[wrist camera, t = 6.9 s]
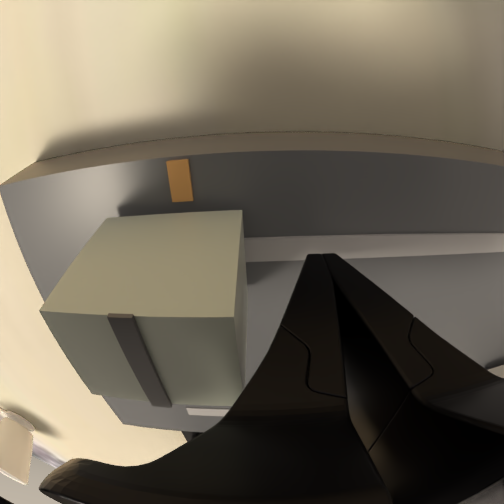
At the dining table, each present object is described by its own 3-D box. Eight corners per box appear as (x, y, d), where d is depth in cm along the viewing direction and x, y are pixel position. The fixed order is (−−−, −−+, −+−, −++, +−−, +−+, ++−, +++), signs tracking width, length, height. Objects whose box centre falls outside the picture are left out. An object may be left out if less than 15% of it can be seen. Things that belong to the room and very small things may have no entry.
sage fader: (248, 297, 10) (245, 410, 7) (131, 297, 10) (91, 397, 7) (242, 208, 8) (233, 319, 5) (106, 216, 9) (35, 312, 5)
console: (498, 362, 18) (510, 386, 16) (131, 393, 19) (123, 425, 17) (582, 172, 9) (610, 192, 7) (34, 162, 10) (-4, 187, 8)
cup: (45, 439, 29) (30, 488, 22) (-16, 404, 26) (-35, 449, 20) (43, 425, 26) (24, 482, 19) (-25, 383, 23) (-49, 435, 16)
